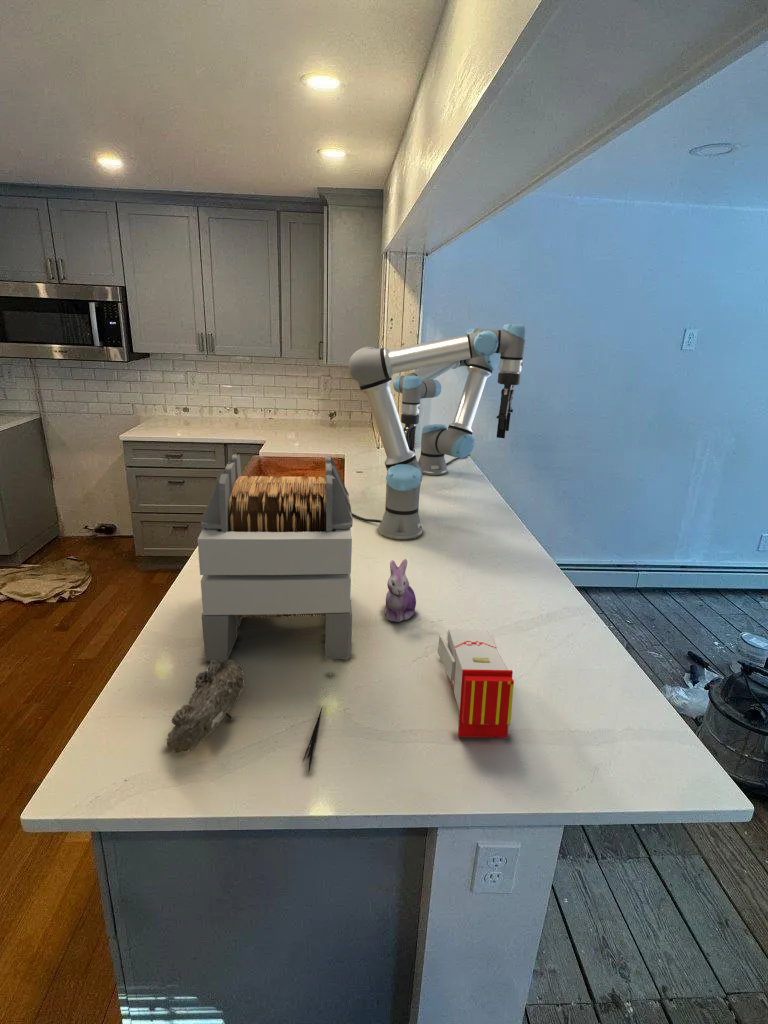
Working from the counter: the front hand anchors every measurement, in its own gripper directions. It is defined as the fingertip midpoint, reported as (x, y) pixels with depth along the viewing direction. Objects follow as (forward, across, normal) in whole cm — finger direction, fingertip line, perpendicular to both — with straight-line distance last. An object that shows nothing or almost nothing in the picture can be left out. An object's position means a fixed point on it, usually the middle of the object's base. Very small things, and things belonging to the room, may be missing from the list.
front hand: (502, 434), depth 199 cm
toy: (+35, -100, -8) cm, 106 cm away
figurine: (+35, -75, +15) cm, 84 cm away
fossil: (+35, -125, +38) cm, 135 cm away
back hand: (+25, +30, +41) cm, 57 cm away
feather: (+35, -119, +18) cm, 125 cm away
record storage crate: (+35, -90, +41) cm, 104 cm away
